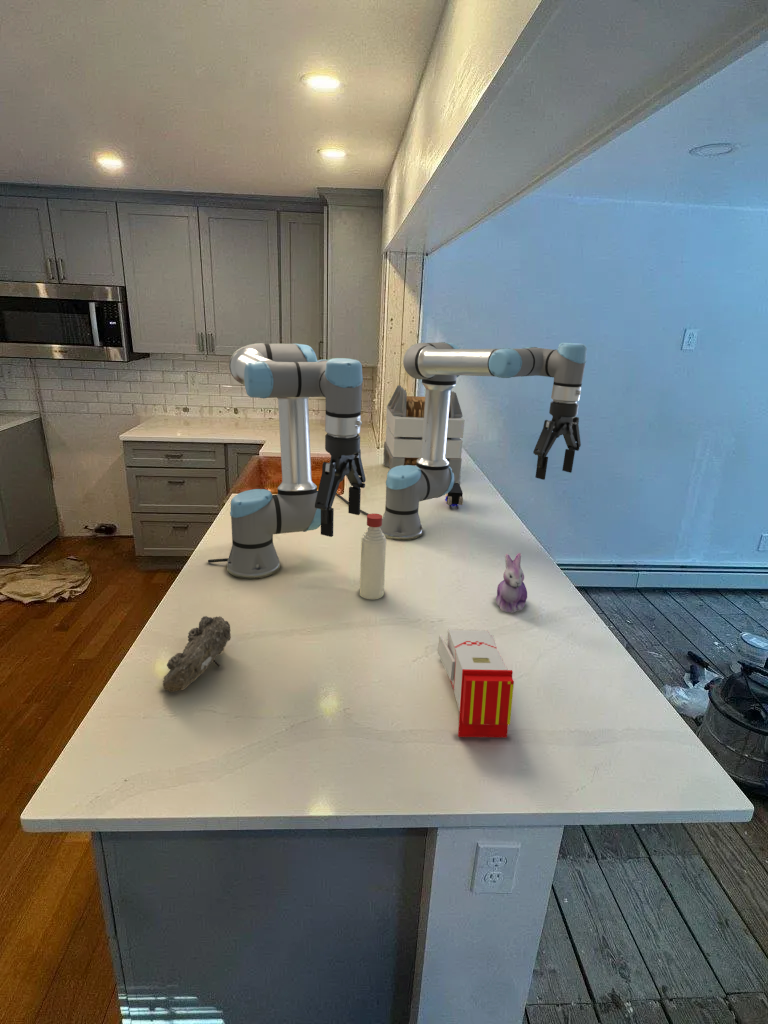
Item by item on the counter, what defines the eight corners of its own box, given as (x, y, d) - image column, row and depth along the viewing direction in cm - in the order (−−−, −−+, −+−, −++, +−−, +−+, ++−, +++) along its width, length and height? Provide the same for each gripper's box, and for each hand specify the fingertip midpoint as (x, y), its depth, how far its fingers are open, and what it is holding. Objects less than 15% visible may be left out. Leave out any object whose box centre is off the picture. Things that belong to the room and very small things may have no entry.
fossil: (186, 619, 132) (231, 589, 127) (214, 646, 135) (260, 618, 130) (141, 685, 113) (192, 653, 108) (176, 716, 116) (227, 686, 111)
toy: (488, 613, 130) (523, 677, 101) (484, 667, 133) (517, 744, 104) (435, 612, 130) (455, 676, 101) (432, 666, 133) (451, 743, 103)
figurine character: (463, 514, 226) (458, 498, 239) (465, 496, 223) (460, 481, 236) (446, 513, 226) (442, 497, 239) (448, 496, 222) (444, 481, 236)
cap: (372, 520, 153) (372, 512, 152) (385, 524, 151) (385, 515, 150) (363, 524, 150) (363, 516, 149) (376, 528, 148) (376, 519, 147)
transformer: (382, 463, 289) (386, 382, 275) (445, 464, 293) (451, 384, 279) (390, 482, 257) (394, 392, 243) (460, 483, 261) (468, 394, 247)
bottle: (369, 585, 162) (371, 511, 154) (388, 592, 158) (392, 517, 151) (354, 594, 157) (356, 517, 149) (374, 601, 153) (377, 523, 145)
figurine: (509, 617, 148) (516, 565, 143) (485, 599, 156) (491, 550, 151) (537, 610, 152) (544, 559, 147) (512, 593, 161) (519, 544, 156)
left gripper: (330, 451, 109) (329, 549, 118) (381, 423, 131) (377, 508, 139) (297, 445, 112) (298, 541, 120) (352, 419, 133) (350, 502, 142)
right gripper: (550, 406, 147) (539, 485, 154) (600, 400, 162) (588, 471, 170) (526, 402, 152) (517, 478, 159) (577, 396, 168) (566, 465, 175)
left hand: (341, 524), depth 130 cm, fingers open, 13 cm apart
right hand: (553, 475), depth 164 cm, fingers open, 13 cm apart
